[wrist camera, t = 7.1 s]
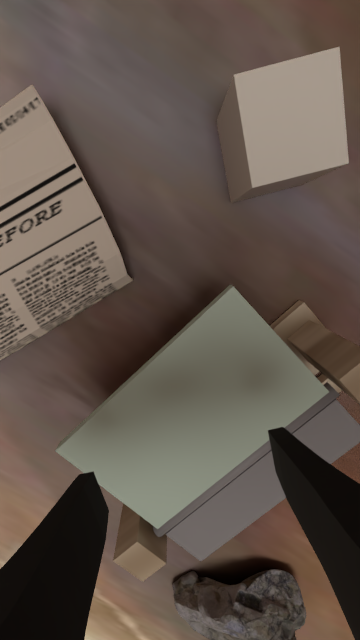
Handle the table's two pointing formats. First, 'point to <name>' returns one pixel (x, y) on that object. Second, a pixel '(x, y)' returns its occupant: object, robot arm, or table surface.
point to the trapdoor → (208, 427)
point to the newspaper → (47, 229)
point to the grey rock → (242, 606)
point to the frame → (318, 356)
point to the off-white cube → (283, 125)
